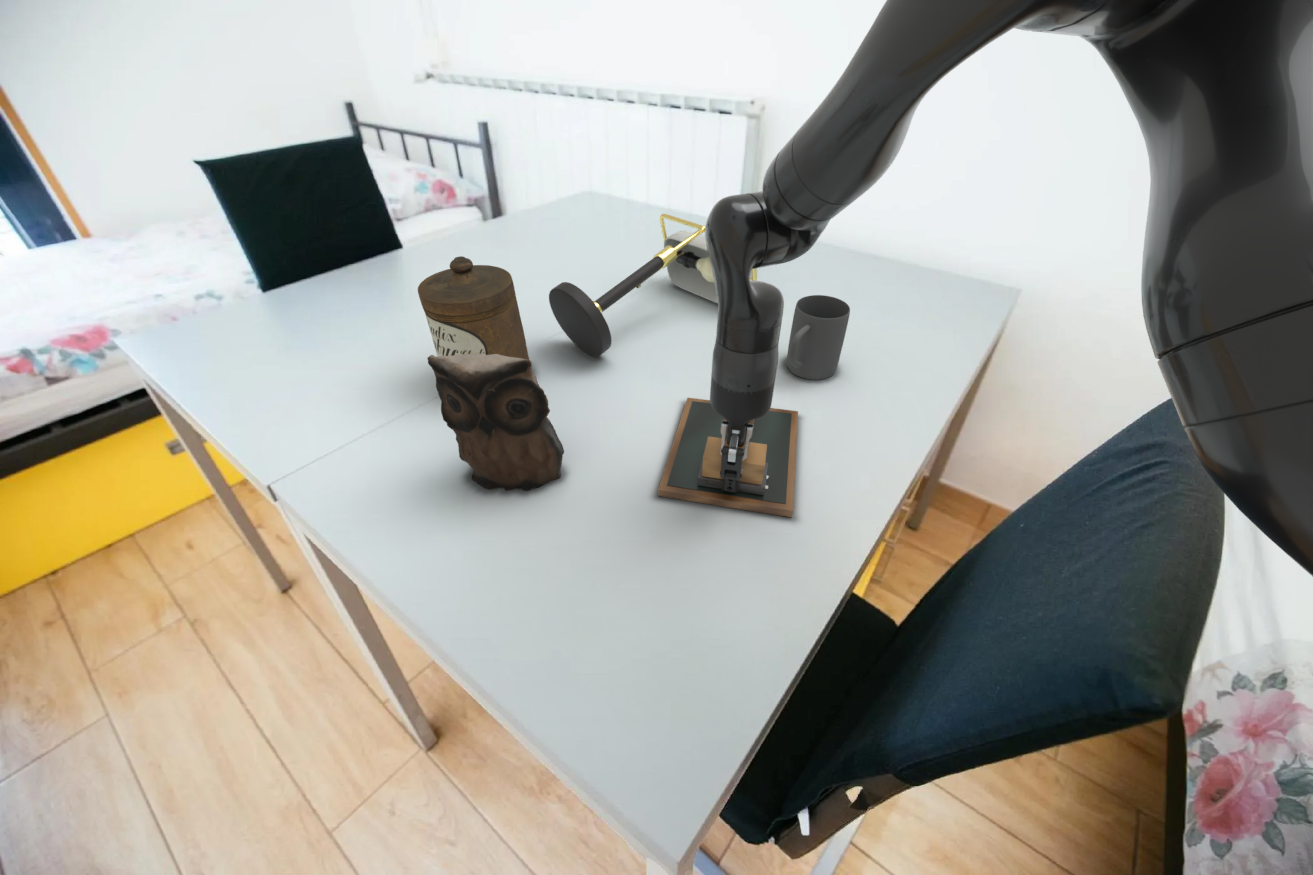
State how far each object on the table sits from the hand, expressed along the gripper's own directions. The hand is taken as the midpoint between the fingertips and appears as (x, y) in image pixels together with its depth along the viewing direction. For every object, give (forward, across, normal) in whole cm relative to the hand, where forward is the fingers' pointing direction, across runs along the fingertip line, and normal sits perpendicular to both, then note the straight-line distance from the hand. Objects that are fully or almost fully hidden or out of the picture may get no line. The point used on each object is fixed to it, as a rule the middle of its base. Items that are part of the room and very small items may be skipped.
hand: (732, 476), depth 74 cm
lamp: (+2, +45, +22) cm, 50 cm away
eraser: (0, 0, 0) cm, 0 cm away
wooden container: (+2, +18, +46) cm, 49 cm away
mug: (+2, +32, -10) cm, 33 cm away
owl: (+2, -2, +30) cm, 31 cm away
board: (+2, +7, 0) cm, 7 cm away
